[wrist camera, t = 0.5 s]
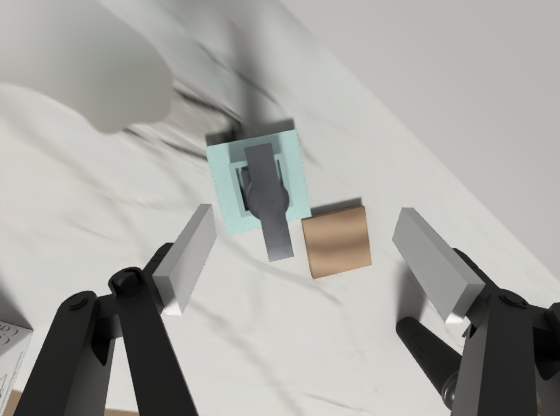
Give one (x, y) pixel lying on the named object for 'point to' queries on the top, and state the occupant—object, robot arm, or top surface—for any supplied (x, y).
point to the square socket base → (232, 161)
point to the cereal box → (11, 357)
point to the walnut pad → (337, 241)
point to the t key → (267, 200)
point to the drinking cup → (432, 357)
